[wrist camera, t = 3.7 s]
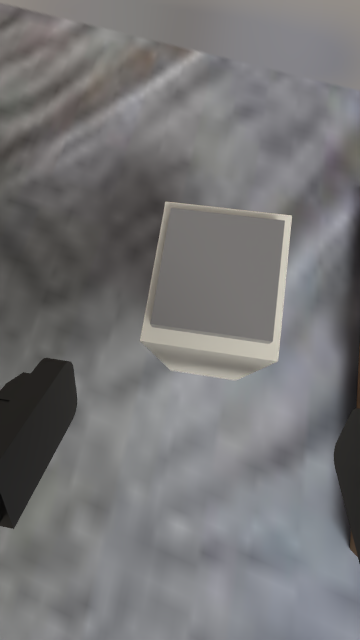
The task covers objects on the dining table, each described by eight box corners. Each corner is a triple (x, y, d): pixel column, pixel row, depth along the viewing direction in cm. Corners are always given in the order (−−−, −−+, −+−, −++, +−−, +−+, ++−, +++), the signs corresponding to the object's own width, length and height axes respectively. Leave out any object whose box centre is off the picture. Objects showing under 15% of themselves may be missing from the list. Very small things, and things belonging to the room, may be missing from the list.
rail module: (170, 370, 19) (137, 338, 8) (183, 295, 19) (165, 184, 9) (235, 380, 18) (281, 359, 8) (244, 304, 19) (297, 199, 9)
